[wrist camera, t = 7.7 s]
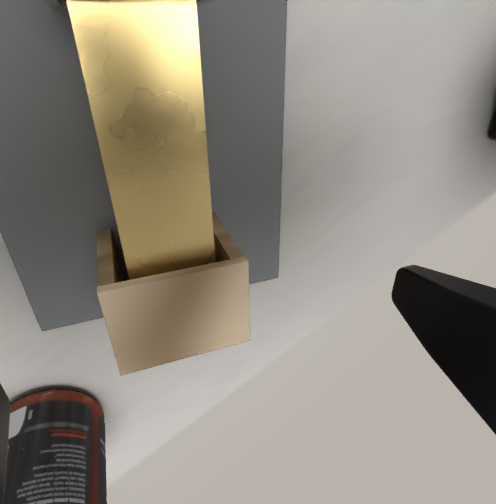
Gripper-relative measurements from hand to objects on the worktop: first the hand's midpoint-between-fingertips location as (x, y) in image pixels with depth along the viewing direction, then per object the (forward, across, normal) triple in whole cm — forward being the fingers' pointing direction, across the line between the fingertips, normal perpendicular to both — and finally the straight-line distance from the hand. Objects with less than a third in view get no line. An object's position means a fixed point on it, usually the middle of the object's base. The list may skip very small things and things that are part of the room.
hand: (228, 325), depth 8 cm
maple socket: (+10, 0, +4) cm, 11 cm away
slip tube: (+10, 0, -2) cm, 10 cm away
